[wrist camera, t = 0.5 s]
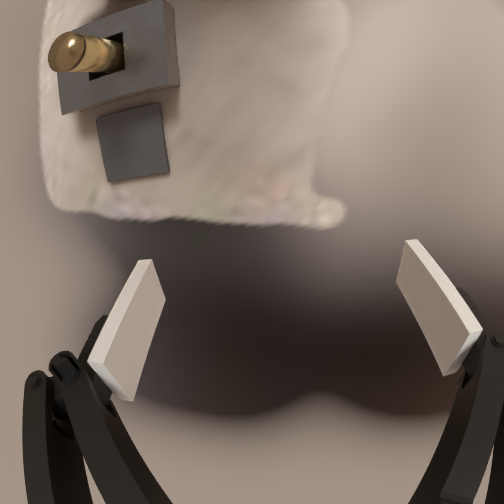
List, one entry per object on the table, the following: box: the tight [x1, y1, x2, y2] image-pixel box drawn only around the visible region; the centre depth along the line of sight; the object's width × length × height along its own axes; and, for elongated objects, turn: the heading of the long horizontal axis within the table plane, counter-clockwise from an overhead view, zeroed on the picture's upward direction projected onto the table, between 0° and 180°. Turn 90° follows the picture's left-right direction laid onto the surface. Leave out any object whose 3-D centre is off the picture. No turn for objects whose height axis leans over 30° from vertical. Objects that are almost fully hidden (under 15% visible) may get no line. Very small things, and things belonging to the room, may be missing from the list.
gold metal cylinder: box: [48, 32, 126, 73], centre depth 23 cm, size 4×4×14 cm
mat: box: [96, 103, 170, 182], centre depth 35 cm, size 10×10×1 cm
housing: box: [57, 0, 180, 115], centre depth 27 cm, size 12×16×5 cm
